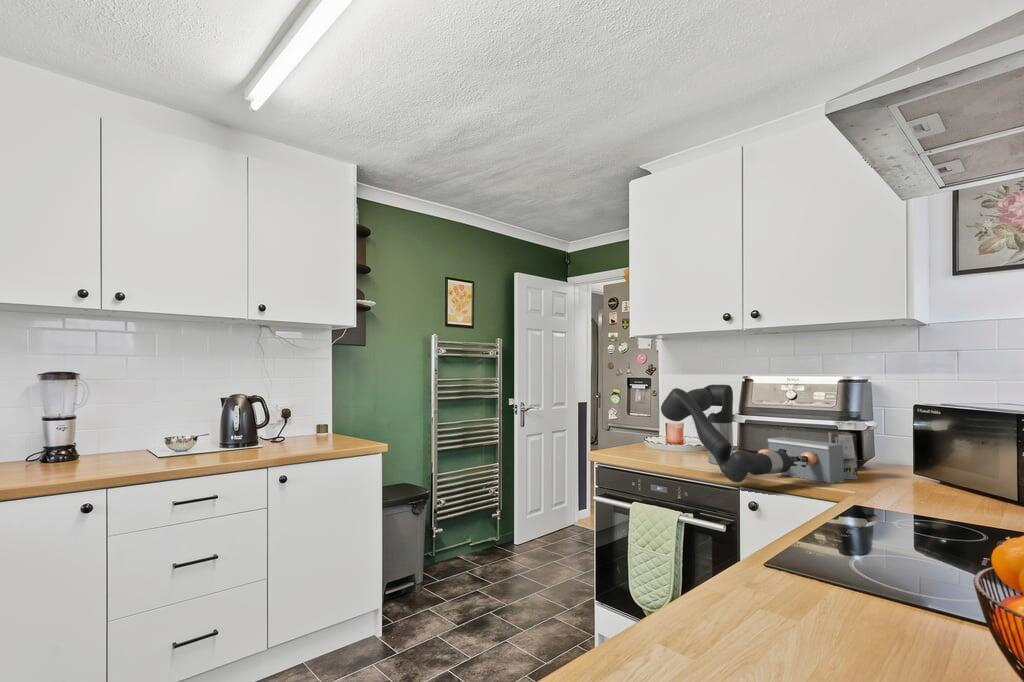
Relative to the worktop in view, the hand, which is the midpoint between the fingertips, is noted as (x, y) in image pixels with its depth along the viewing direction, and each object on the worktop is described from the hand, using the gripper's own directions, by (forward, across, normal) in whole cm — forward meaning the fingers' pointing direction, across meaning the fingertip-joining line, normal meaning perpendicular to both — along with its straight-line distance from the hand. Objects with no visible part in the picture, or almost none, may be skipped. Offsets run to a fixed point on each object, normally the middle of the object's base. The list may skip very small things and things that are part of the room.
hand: (805, 458), depth 192 cm
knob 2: (+6, 0, +2) cm, 6 cm away
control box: (+8, +6, +8) cm, 13 cm away
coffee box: (+20, -1, +8) cm, 22 cm away
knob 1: (-1, +12, +2) cm, 12 cm away
